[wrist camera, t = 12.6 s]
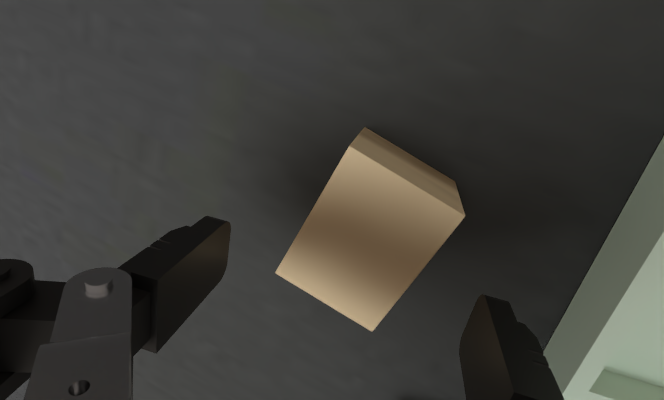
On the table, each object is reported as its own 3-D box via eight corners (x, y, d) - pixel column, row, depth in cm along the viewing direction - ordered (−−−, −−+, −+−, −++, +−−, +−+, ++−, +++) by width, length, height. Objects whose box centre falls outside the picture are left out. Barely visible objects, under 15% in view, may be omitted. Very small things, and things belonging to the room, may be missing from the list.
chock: (364, 126, 16) (349, 145, 12) (454, 180, 16) (465, 215, 12) (303, 230, 18) (275, 272, 15) (381, 277, 18) (372, 331, 15)
